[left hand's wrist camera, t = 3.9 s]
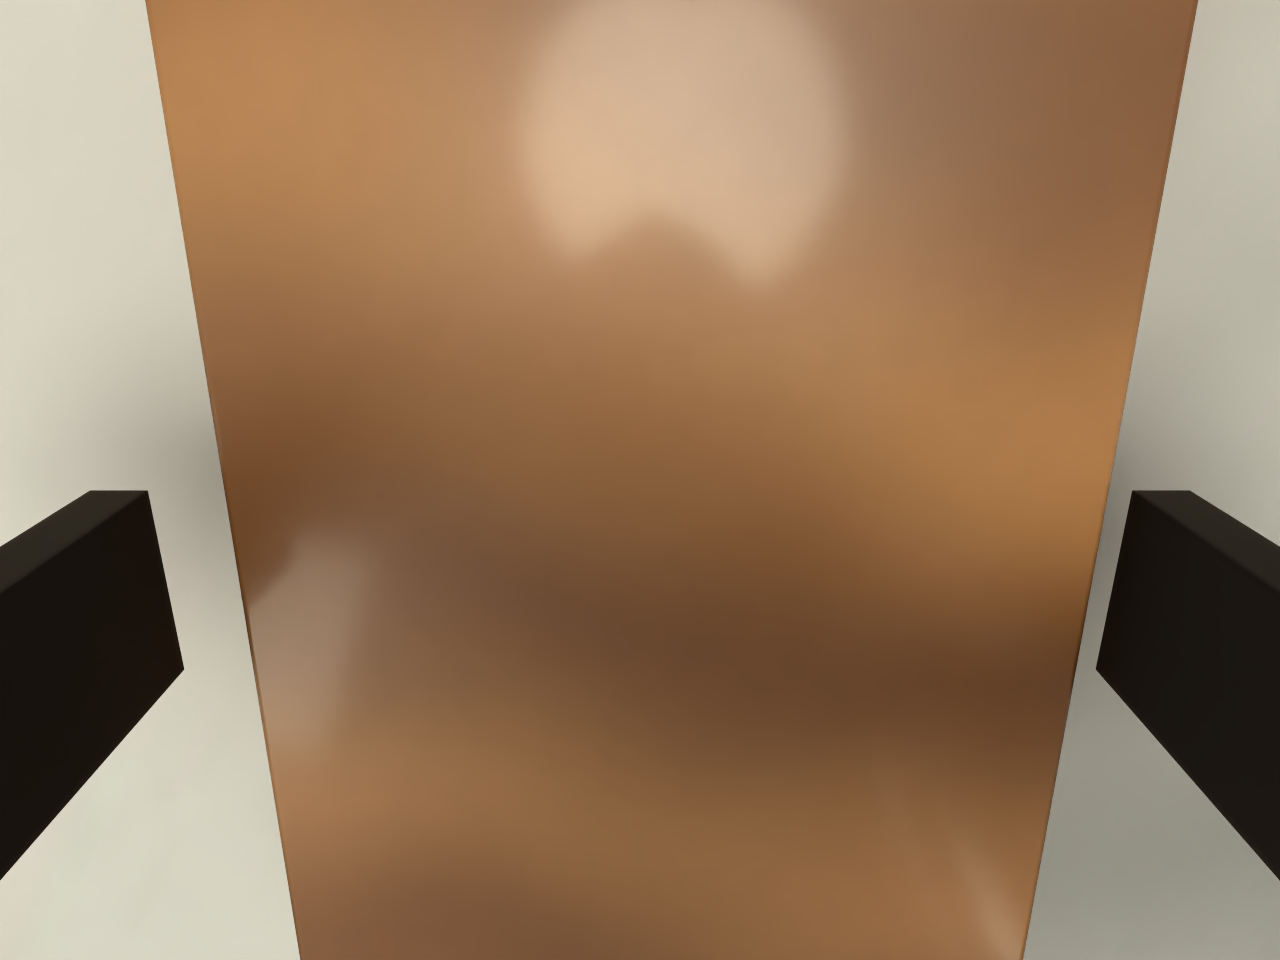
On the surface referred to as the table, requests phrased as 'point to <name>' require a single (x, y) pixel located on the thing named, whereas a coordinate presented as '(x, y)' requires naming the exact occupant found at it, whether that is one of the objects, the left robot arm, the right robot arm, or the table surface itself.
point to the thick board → (666, 450)
